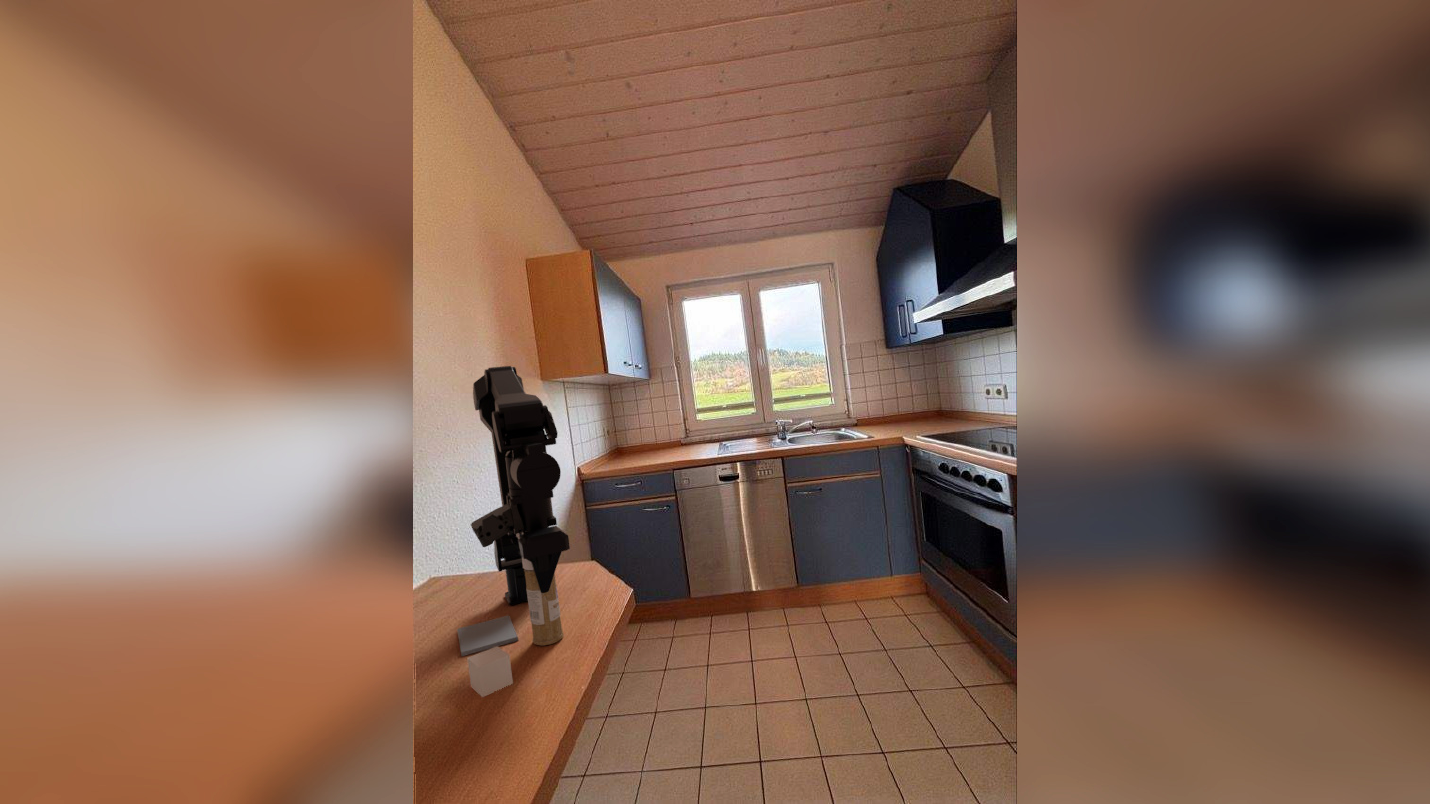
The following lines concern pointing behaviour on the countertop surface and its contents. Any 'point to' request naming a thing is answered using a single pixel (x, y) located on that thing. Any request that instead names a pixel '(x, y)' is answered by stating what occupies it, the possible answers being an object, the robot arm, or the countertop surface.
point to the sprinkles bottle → (542, 609)
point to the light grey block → (490, 671)
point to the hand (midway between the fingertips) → (542, 587)
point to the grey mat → (486, 635)
